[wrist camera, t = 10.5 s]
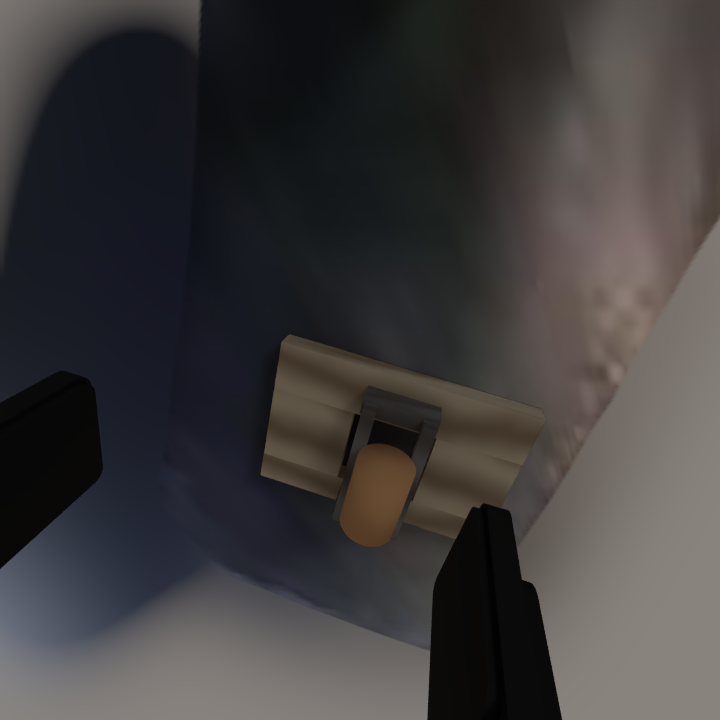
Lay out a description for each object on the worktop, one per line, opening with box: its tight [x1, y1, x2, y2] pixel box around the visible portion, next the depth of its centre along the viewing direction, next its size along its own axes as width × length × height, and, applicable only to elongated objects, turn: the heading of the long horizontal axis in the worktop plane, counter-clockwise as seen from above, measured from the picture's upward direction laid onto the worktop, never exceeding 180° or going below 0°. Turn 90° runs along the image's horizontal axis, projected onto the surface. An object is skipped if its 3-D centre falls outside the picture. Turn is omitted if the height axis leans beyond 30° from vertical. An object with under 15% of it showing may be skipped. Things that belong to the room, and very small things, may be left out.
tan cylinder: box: [340, 444, 416, 547], centre depth 36 cm, size 7×5×5 cm
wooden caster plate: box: [261, 334, 545, 541], centre depth 39 cm, size 16×24×6 cm, turn 76°
